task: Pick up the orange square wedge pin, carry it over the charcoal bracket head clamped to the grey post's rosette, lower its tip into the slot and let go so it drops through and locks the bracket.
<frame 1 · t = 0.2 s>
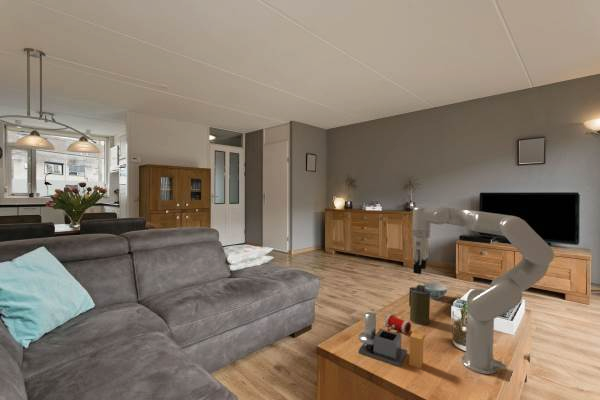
hand: (419, 270, 132), 36 cm above the table, tool pointing down, fingers open, 9 cm apart
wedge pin: (416, 363, 120), on the table
canister: (419, 320, 162), on the table
chinaware: (434, 298, 199), on the table
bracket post: (378, 351, 129), on the table
toy hammer: (391, 333, 147), on the table
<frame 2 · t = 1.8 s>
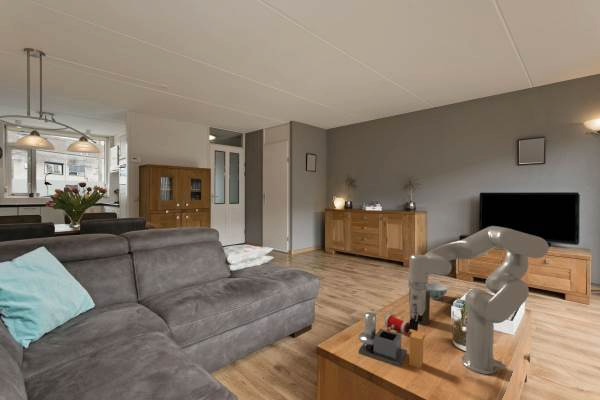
hand: (415, 325, 120), 16 cm above the table, tool pointing down, fingers open, 9 cm apart
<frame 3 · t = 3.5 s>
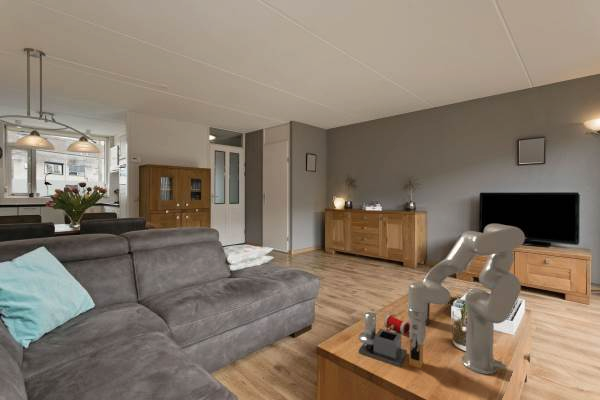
hand: (416, 355, 120), 3 cm above the table, tool pointing down, fingers closed on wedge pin, 4 cm apart
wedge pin: (416, 363, 120), on the table, touching gripper
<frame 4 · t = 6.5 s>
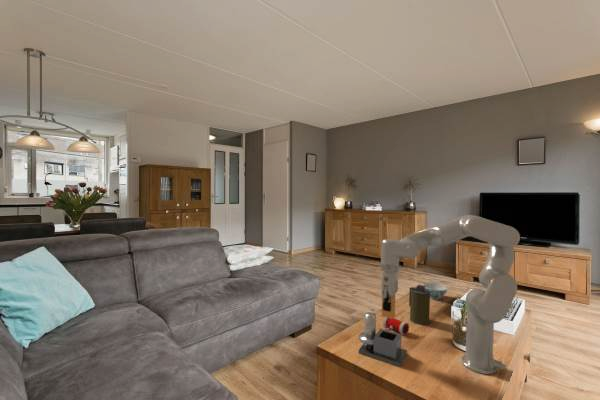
hand: (388, 308, 126), 21 cm above the table, tool pointing down, fingers closed on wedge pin, 4 cm apart
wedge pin: (388, 315, 126), point 17 cm above the table, touching gripper
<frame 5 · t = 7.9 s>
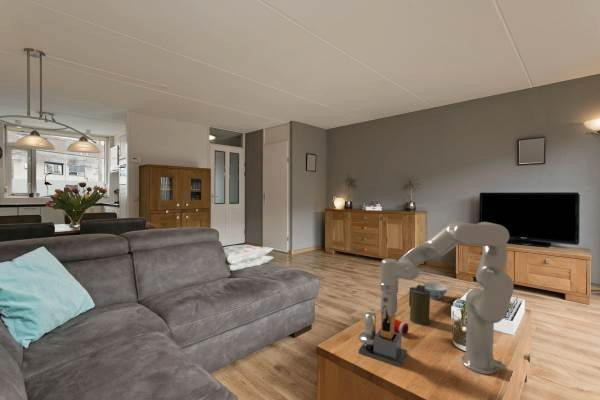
hand: (387, 328, 127), 12 cm above the table, tool pointing down, fingers closed on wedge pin, 4 cm apart
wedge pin: (387, 335, 127), point 8 cm above the table, touching gripper
when the fingers open (10 cm above the table, at t = 9.4 s): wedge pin drops 5 cm, resting on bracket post.
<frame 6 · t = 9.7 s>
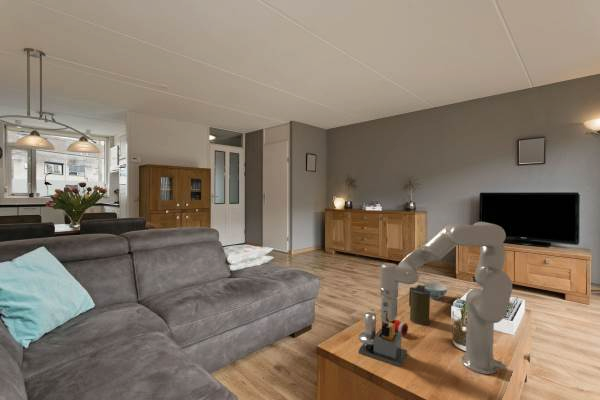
hand: (388, 331, 127), 10 cm above the table, tool pointing down, fingers open, 7 cm apart
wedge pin: (387, 351, 127), point 2 cm above the table, touching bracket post
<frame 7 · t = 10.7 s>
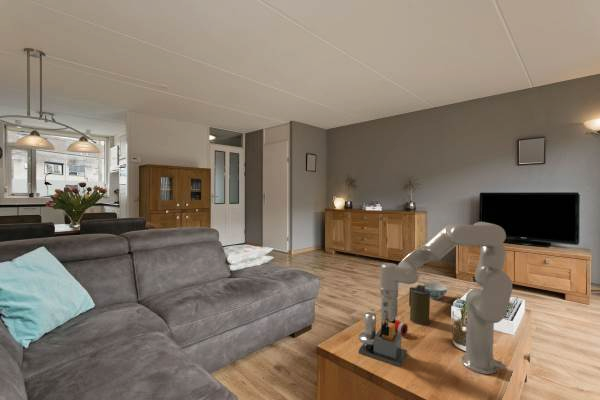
hand: (388, 330, 127), 11 cm above the table, tool pointing down, fingers open, 9 cm apart
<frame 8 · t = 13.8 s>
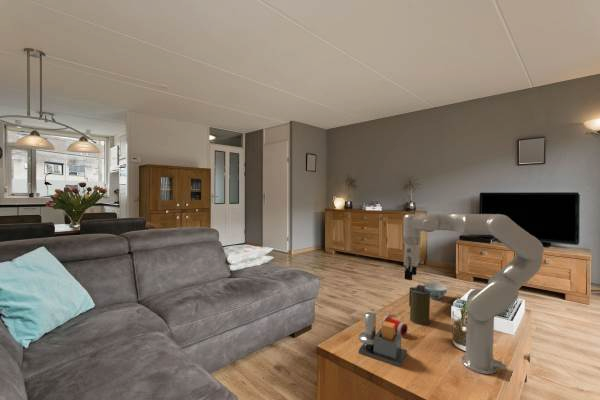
hand: (410, 277, 134), 32 cm above the table, tool pointing down, fingers open, 9 cm apart
at the end: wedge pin 0.3 cm from the target spot on the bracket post, point 1.5 cm above the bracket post's base; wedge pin tilted 0°; the gripper is holding nothing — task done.
